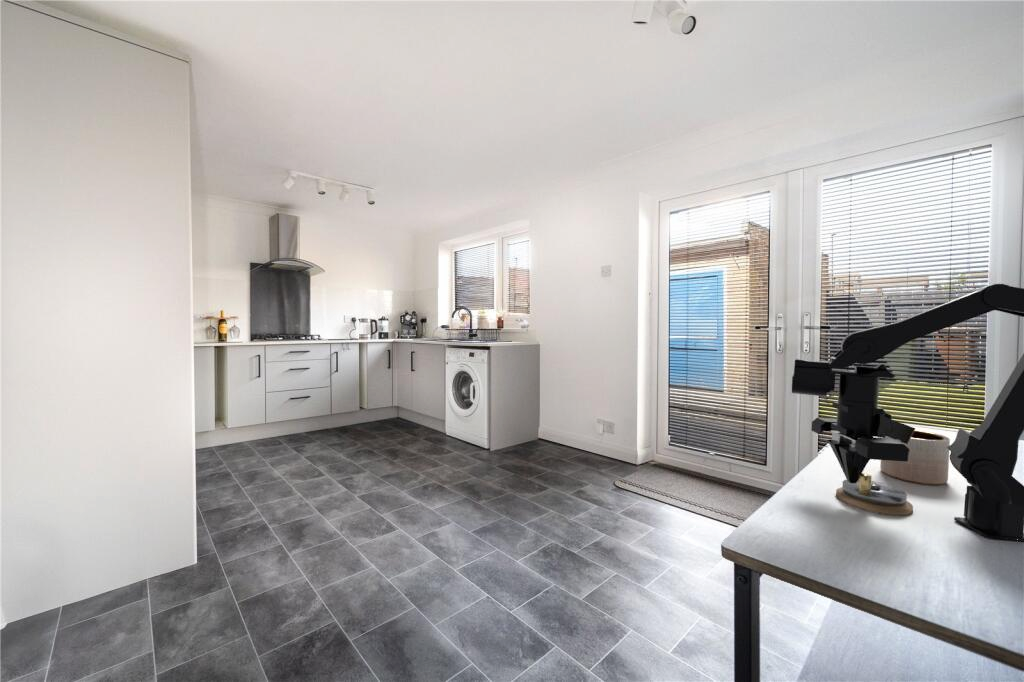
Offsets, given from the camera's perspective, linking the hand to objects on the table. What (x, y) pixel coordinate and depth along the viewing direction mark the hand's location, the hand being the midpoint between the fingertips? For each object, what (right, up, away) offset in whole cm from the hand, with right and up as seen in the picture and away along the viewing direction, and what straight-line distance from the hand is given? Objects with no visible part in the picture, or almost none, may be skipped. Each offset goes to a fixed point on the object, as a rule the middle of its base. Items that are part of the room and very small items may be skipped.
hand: (852, 482), depth 80 cm
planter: (+25, -4, +14) cm, 29 cm away
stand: (+4, -4, 0) cm, 6 cm away
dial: (+4, -3, 0) cm, 5 cm away
